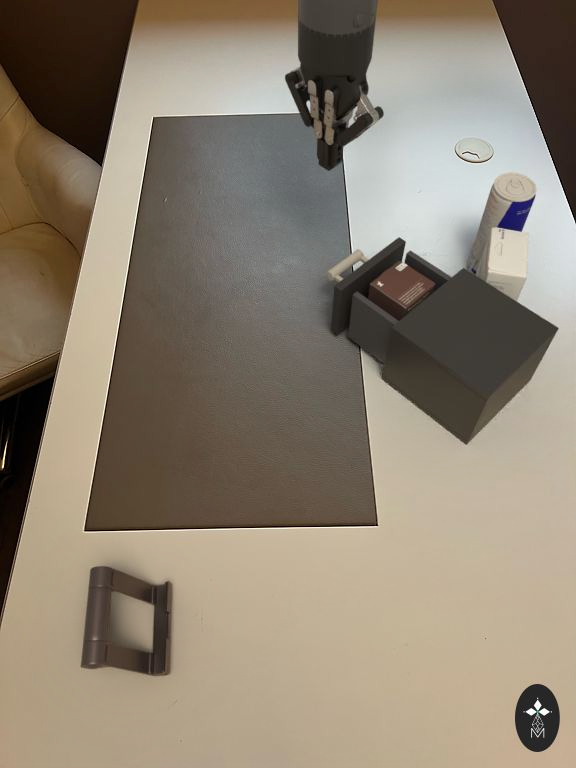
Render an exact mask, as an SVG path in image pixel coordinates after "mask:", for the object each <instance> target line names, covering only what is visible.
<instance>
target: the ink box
mask: <svg viewBox="0 0 576 768" xmlns="http://www.w3.org/2000/svg"><path fill="white" fill-rule="evenodd" d="M529 238H530V235H529V232H525V231H522V232H519V231H514V230H508V229H503V228H497V227H495V228H493V227H492V228H491V231H490V234H489V237H488V240H487V243H486V246H485V249H484V252H483V255H482V258H481V260H480V263H479V266H478V269H477V272H476V276H477V277H479V278H480V279H482V280H484V281H485V282H487V283H488V284H490V285H491V286H493V287H495V288H496V289H498V290H499V291H501V292H503V293H504V294H506V295H507V296H509V297H510V298H512V299H514V300H515V301H517V302H518V299H519V297H520V295H521V292H522V290H523V288H524V285H525V283H526V281H527V278H528V264H529V263H528V262H529V261H528V260H529V243H530V242H529Z"/></svg>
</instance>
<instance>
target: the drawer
mask: <svg viewBox="0 0 576 768" xmlns="http://www.w3.org/2000/svg"><path fill="white" fill-rule="evenodd" d="M406 244H407V241H406V240H405V239H403V238H401V237H399V236H398V237H397V238H396V239H394V240H393V241H392V242H391V243H389V244H388V245H386V246H385V247H384V248H382V250H380V251H379V252H377V253H376V254H374V255H373V256H372V257H371V258H367V257H366V256H365V254H364V252H363V250H361V249H358V248H357V249H356V250H355V251H352V253H350V254H349V255H347V256H346V257H345V258H344V259H342V260H340V262H338V263H337V264H336V265H334V266H332V267H331V268H329V269H328V270H327V271H325V275H326V278H327V280H329V281H331V282H333V281H336V282H337V283H336V284H335V285H334V286H333V297H332V298H333V299H332V309H331V310H332V311H331V313H332V314H331V326H330V331H331V332H332V333H333V334H335V335H336V336H338V335H339V334H341V333H342V332H343V331H345V330H346V329H347V328H348V334H347V336H348V338H349V339H351V340H352V341H353V342H354V343H356V344H357V345H358V346H359V347H361V348H362V349H363V350H365V351H366V352H367V353H368V354H370V355H371V356H373V357H374V358H376V359H377V360H378V361H379V362H381V364H383V365H385V360H386V355H387V350H388V345H389V340H390V335H391V329H392V327H393V326H394V325H395V324H396V323H397V322H399V321H398V320H396V319H395V318H394V317H392V316H391V315H389V314H388V313H387V312H385V311H384V310H382V309H381V308H380V307H378V306H377V305H375V304H374V303H373V302H371V301H370V300H368V295H369V288H370V283H371V282H372V281H374V280H375V279H376V278H378V277H379V276H380V275H382V273H383V272H384V271H386V270H388V269H389V268H391V267H392V266H393V265H395V264H396V263H397V262H398V261H401V262H403V259H404V255H405V259H404V263H405V264H406V265H408V266H409V267H411V268H412V269H414V270H415V271H417V272H419V273H420V274H422V275H423V276H425V277H426V278H428V279H429V280H431V281H432V282H434V283H435V287H434V291H433V293H434V292H435V291H436V290H437V289H438V288H440V287H441V286H442V285H443V284H444V283H446V282H447V281H448V280H449V279H450V278H452V277H453V276H451V275H450V274H448V273H446V272H445V271H443V270H441V268H439V267H437V266H436V265H434V264H433V263H431V262H429V261H428V260H426V259H425V258H423V257H422V256H420V255H418V254H417V253H415V252H414V251H412V250H408V251H407V252H406V254H405V248H406ZM359 262H361V263H362V264H361V265H359V266H358V267H357V268H356V269H354V270H353V271H352V272H351V273H349V274H348V275H346V276H345V277H342V274H344V273H345V272H347V271H348V270H349V269H350V268H352V267H353V266H355V265H356V264H357V263H359Z"/></svg>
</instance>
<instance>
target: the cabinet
mask: <svg viewBox="0 0 576 768" xmlns="http://www.w3.org/2000/svg"><path fill="white" fill-rule="evenodd" d="M451 277H452V278H450V279H449V280H448V281H447V282H446V283H444V284H443V285H442V286H441V287H440V288H438V289H437V290H436V291H435V292H434V293H432V294H431V295H430V296H429V297H428V298H426V299H425V300H424V301H423V302H422V303H420V304H419V305H418V306H417V307H416V308H414V309H413V310H412V311H411V312H410V313H408V314H407V315H406V316H405V317H404V318H402V319H401V320H400V321H399V322H397V323H396V324H395V325H394V326H393V327H392V329H391V335H390V340H389V345H388V350H387V355H386V360H385V364H383V370H382V376H381V380H382V381H383V382H385V383H386V384H388V386H390V387H391V388H393V389H394V390H395V391H396V392H398V393H399V394H400V395H401V396H403V397H404V398H406V400H408V401H409V402H411V403H412V404H413V405H414V406H416V407H417V408H418V409H419V410H421V411H422V412H423V413H424V414H426V415H427V416H429V417H430V418H431V419H432V420H434V421H435V422H436V423H438V424H439V425H440V426H442V428H444V429H446V430H447V431H448V432H449V433H450V434H452V435H453V436H454V437H456V438H457V439H458V440H459V441H461V442H462V443H464V444H465V445H468V444H469V443H470V442H471V441H472V440H473V439H474V438H475V437H476V436H477V435H478V434H479V433H480V432H482V430H483V429H484V428H485V427H486V426H487V425H488V424H489V423H490V422H491V421H492V420H493V419H494V418H495V417H496V416H497V415H498V414H499V413H501V411H502V410H503V409H504V408H505V407H506V406H507V405H508V404H509V402H511V400H513V398H514V397H516V396H517V395H518V393H520V392H521V390H523V388H524V387H526V385H528V384H529V382H531V380H532V378H533V376H534V375H535V373H536V371H537V369H538V368H539V366H540V365H541V362H542V360H543V358H544V357H545V354H546V352H547V350H548V349H549V347H550V345H551V343H552V342H553V340H554V338H555V337H556V334H557V332H558V331H559V327H558V326H557V325H555V324H553V323H552V322H550V321H548V320H547V319H546V318H544V317H542V316H540V315H539V314H538V313H536V312H535V311H533V310H531V309H529V308H527V307H526V306H525V305H523V304H522V303H520V302H518V300H517V301H515V300H514V299H512V298H510V297H509V296H507V295H506V294H504V293H503V292H501V291H499V290H498V289H496V288H495V287H493V286H491V285H490V284H488V283H487V282H485V281H484V280H482V279H480V278H479V277H477V276H476V275H474V274H473V273H471V272H470V271H469V270H468V269H467V268H465V267H462V269H460V270H459V271H457V273H455V274H454V275H453V276H451Z"/></svg>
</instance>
